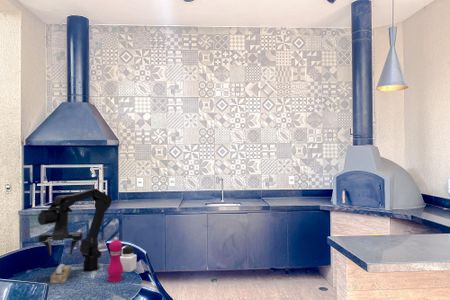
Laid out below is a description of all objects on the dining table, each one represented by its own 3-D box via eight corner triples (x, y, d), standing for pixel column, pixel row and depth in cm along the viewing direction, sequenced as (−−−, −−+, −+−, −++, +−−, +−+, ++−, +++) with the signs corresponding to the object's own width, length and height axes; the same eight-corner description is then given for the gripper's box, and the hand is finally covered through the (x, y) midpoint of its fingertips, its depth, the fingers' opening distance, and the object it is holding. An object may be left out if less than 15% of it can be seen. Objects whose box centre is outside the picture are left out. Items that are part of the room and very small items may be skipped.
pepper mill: (118, 282, 159) (118, 239, 159) (104, 281, 160) (104, 238, 161) (125, 277, 166) (126, 236, 167) (112, 277, 167) (112, 235, 168)
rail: (71, 271, 176) (71, 265, 176) (64, 282, 159) (64, 275, 159) (58, 272, 174) (58, 266, 174) (50, 283, 158) (50, 276, 158)
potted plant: (136, 268, 182) (136, 245, 182) (130, 272, 175) (131, 248, 175) (123, 267, 183) (124, 244, 183) (117, 271, 176) (118, 247, 176)
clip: (64, 276, 168) (64, 263, 168) (61, 281, 161) (61, 268, 161) (59, 276, 167) (60, 264, 168) (56, 281, 160) (56, 268, 161)
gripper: (35, 225, 155) (34, 260, 154) (79, 224, 160) (78, 257, 159) (41, 221, 166) (40, 254, 165) (83, 220, 171) (82, 252, 170)
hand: (60, 254), depth 165 cm, fingers open, 9 cm apart
